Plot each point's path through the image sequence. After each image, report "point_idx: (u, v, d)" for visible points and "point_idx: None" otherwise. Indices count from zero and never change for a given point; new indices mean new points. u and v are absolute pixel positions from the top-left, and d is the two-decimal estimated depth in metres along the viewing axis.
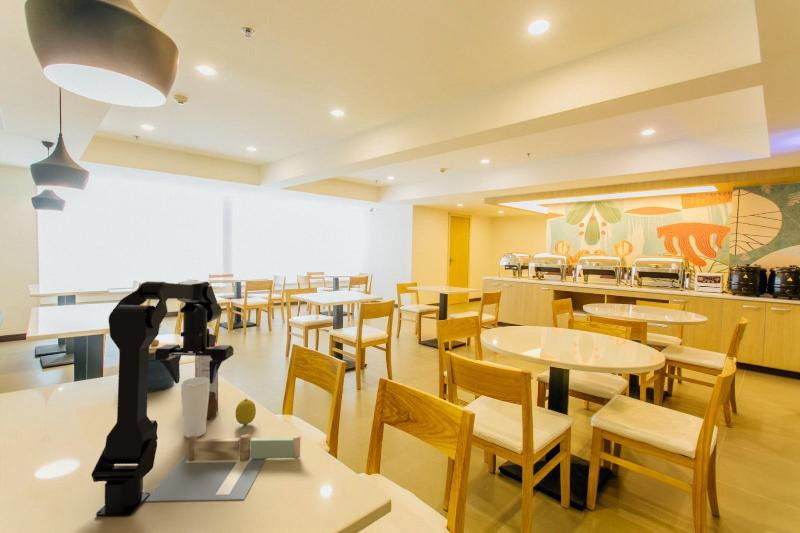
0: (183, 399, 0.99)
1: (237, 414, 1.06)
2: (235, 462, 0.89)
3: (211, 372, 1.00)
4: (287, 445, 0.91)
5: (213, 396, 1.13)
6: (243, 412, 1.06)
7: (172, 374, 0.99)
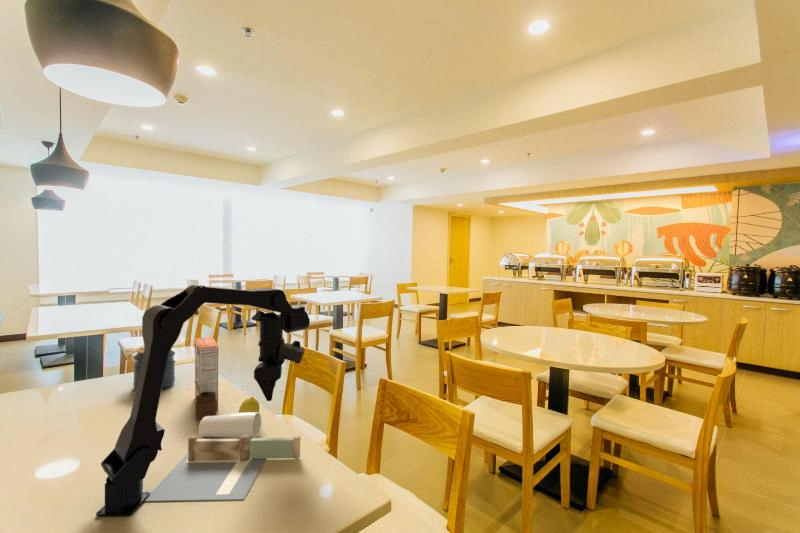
0: (236, 428, 0.98)
1: (241, 411, 1.06)
2: (235, 462, 0.89)
3: None
4: (287, 445, 0.91)
5: (213, 396, 1.13)
6: (248, 409, 1.06)
7: None
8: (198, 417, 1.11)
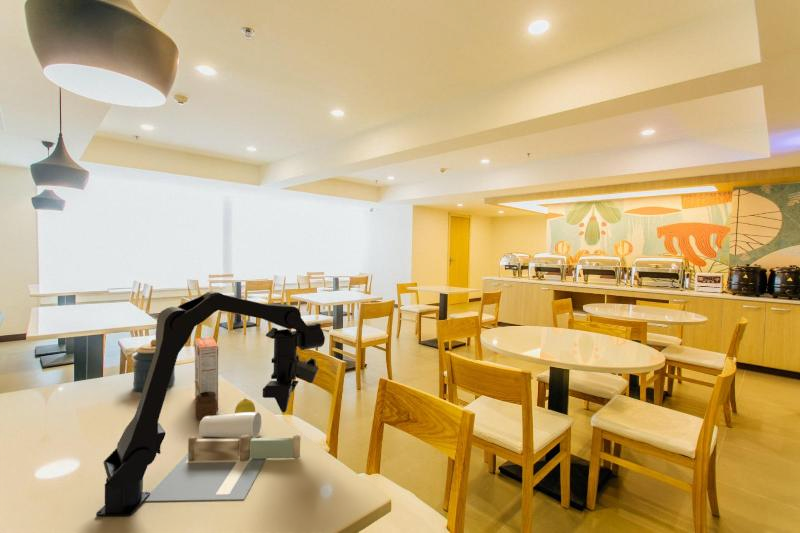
0: (236, 428, 0.98)
1: None
2: (235, 462, 0.89)
3: None
4: (287, 445, 0.91)
5: (213, 396, 1.13)
6: None
7: None
8: (198, 417, 1.11)
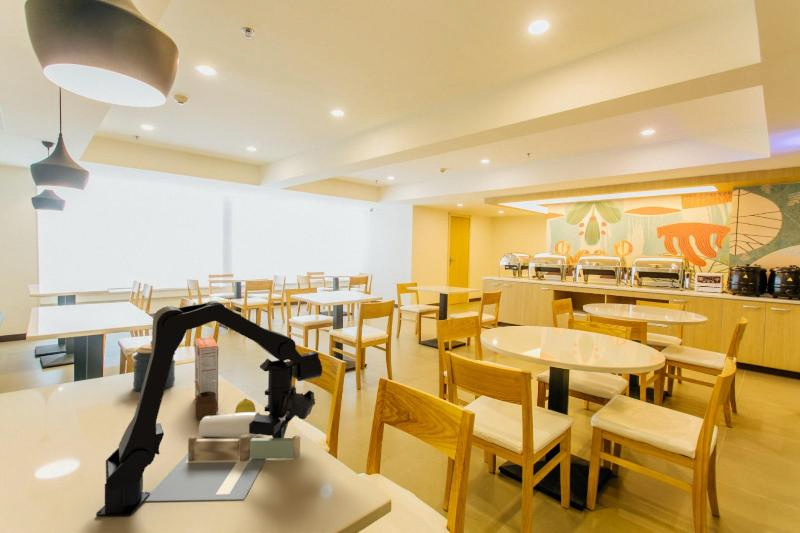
0: (236, 428, 0.98)
1: None
2: (235, 462, 0.89)
3: None
4: (287, 445, 0.91)
5: (213, 396, 1.13)
6: None
7: None
8: (198, 417, 1.11)
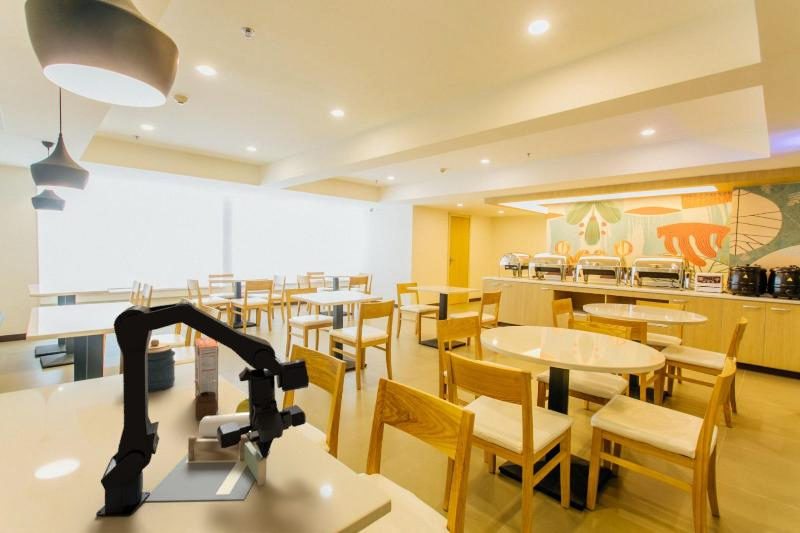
0: None
1: None
2: (235, 462, 0.89)
3: None
4: (256, 464, 0.82)
5: (213, 396, 1.13)
6: None
7: None
8: (198, 417, 1.11)
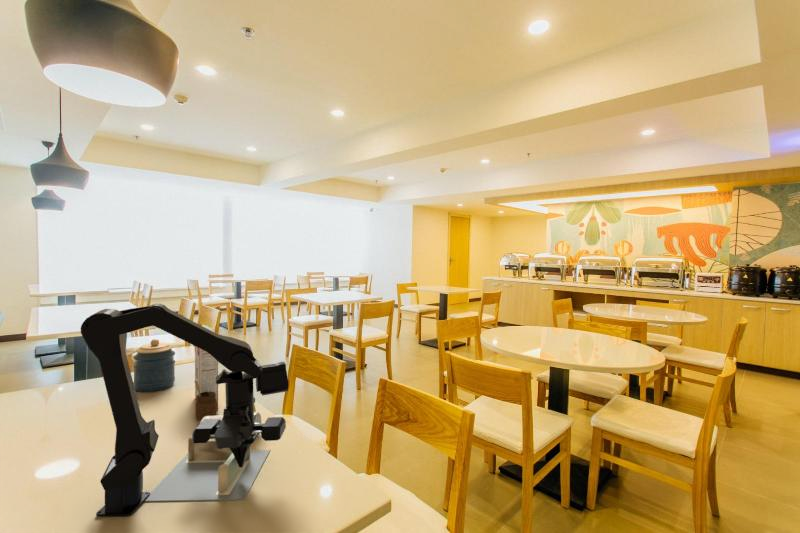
0: None
1: None
2: None
3: None
4: None
5: (213, 396, 1.13)
6: None
7: None
8: (198, 417, 1.11)
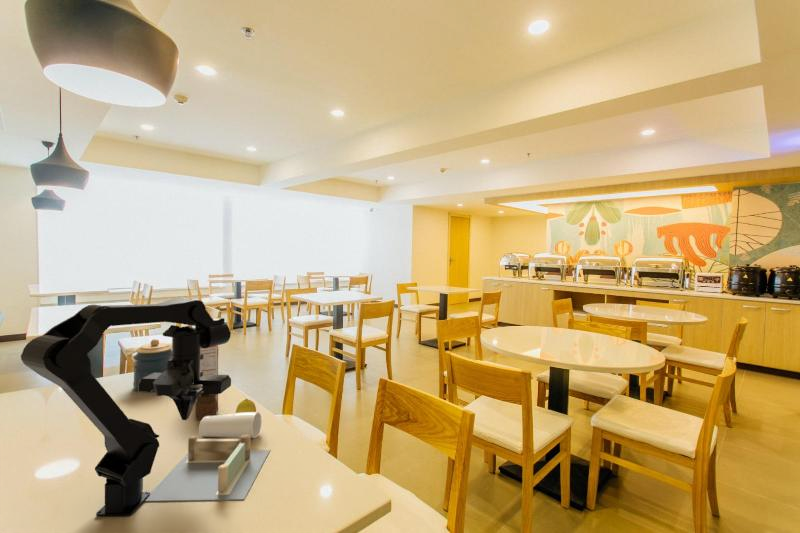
0: (236, 428, 0.98)
1: None
2: None
3: None
4: None
5: (213, 396, 1.13)
6: None
7: None
8: (198, 417, 1.11)
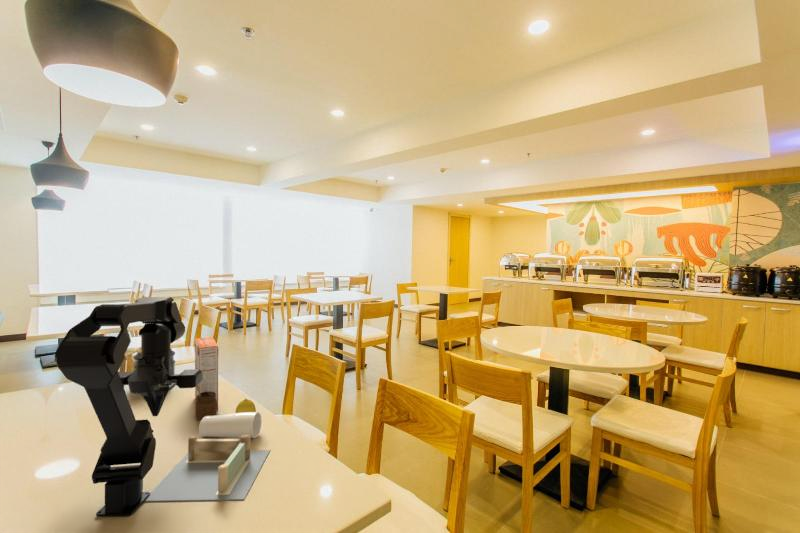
0: (236, 428, 0.98)
1: None
2: None
3: None
4: None
5: (213, 396, 1.13)
6: None
7: None
8: (198, 417, 1.11)
